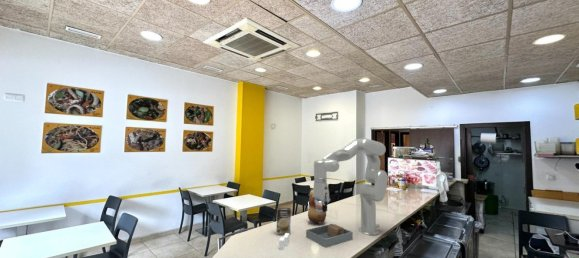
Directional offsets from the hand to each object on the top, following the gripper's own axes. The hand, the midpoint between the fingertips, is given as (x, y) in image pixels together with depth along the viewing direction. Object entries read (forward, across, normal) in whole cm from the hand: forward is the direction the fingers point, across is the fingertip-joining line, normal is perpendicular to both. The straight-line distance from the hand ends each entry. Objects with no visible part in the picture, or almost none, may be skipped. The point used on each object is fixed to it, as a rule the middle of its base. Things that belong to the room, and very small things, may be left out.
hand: (321, 209), depth 147 cm
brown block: (+18, 0, -11) cm, 22 cm away
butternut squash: (+19, +27, -19) cm, 38 cm away
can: (+1, 0, 0) cm, 1 cm away
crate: (+19, 0, -6) cm, 20 cm away
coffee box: (+18, +22, +13) cm, 32 cm away
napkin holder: (+19, +7, +23) cm, 31 cm away
